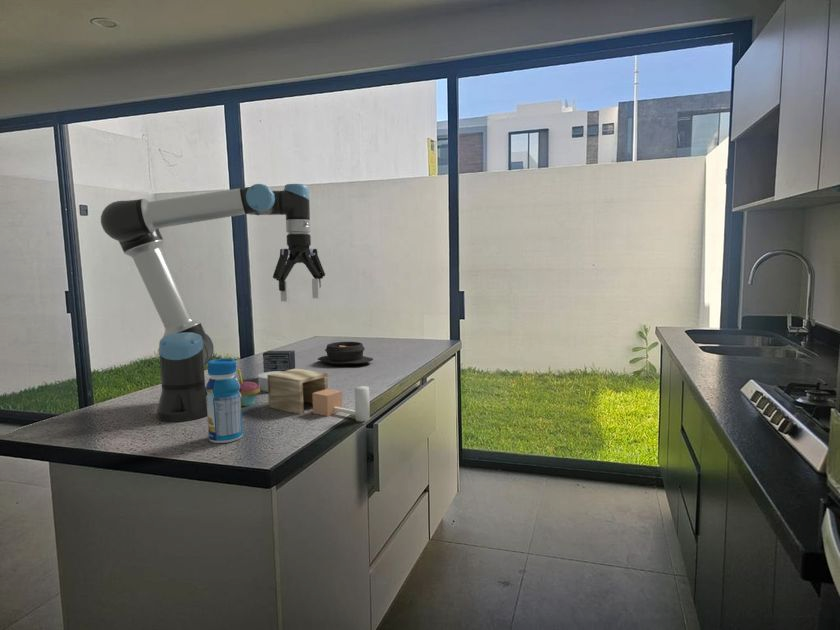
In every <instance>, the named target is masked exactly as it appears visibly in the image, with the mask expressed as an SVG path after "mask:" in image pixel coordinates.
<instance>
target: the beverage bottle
mask: <svg viewBox="0 0 840 630" xmlns="http://www.w3.org/2000/svg"><path fill="white" fill-rule="evenodd" d="M206 365H207V374H208V376H209V377H210V378H209V379H208V381H207V383H206V384H205V387H206V392H207V396H206V404H207V414H208V415H207V427H208V429H207V430H208V441H210V442H212V443H214V444H225V443H226V444H227V443H231V442H236V441H238V440H240V439H241V438H242V437H243V431H244V430H243V420H242V417H243V416H242V406H241V393H240V392H239V389H240V380H239V379H238V377H236V376H235V374H236V373H237V362H236V359H233V358H219V359H211V360H210V361H209V362H208V363H207V364H206Z"/></svg>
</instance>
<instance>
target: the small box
mask: <svg viewBox="0 0 840 630" xmlns="http://www.w3.org/2000/svg"><path fill="white" fill-rule="evenodd" d="M295 352H296V351H295V350H267V351H265V352H262V361H263V373H265V372H272V371H287V370H291V369H295V368H296V355H295Z"/></svg>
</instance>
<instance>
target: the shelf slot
mask: <svg viewBox="0 0 840 630" xmlns="http://www.w3.org/2000/svg"><path fill="white" fill-rule="evenodd" d="M267 378H268V392H267V394H268V408H272V409H276V410H279V411H280V410H281V411H284V412H289V413H292V414H293V413H294V414H299V415H303V414H305V411H304V410H305V409H304V408H305V407H304V403H309V404H313V396H312V393H315V392H318V391H321V390H325V389H329V386H328V385H329V383H328V380H329V379H328V373H327V372H321V371H316V370H309V369H303V368H296V367H295V369H291V370H287V371H283V372H278V373H274V374H270V375H267Z"/></svg>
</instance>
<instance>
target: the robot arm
mask: <svg viewBox="0 0 840 630" xmlns="http://www.w3.org/2000/svg"><path fill="white" fill-rule="evenodd" d="M310 209H311V208H310V192H309V187H308V186H307V185H306V184H304V183H287V184H285V185H284V188H283V189H282V190H273V189H272V188H270V187H269V186H267V185H266V184H262V183H255V184H253V185H251V186H246V187H241V188H233V189H226V190H219V191H218V190H217V191H213V192H206V193H200V194H194V195H193V194H191V195H186V196H180V197H173V198H166V199H158V200H153V201H152V200H151V201H149V200H147V199H146V198H140V199H139V198H138V199H130V200H129V199H128V200H117V201H114V202H111V203H109V204H108V205H107V206H105V207H104V209H103V210H102V212H101V215H100V224H101V227H102V230H103V232H104V233H105V234H107V236H109V237H110V238H111V239H114V240H115V241H118V243H119V245H120V247H121V250H122V251H123V253H124V255H127V256H129V257H131V258H132V259H133V262H134V265H135V267H136V268H137V271H138V273H139V274H140V277H141V280H142V282H143V283H144V286H145V288H146V290H147V292H148V294H149V297H150V299H151V300H152V303H153V306H154V308H155V310H156V311H157V314H158V316H159V318H160V321H161V323H162V325H163V327H164V329H165V331H164V334H163V336H162V337H161V339H160V340H159V343H158V344H159V345H158V354H159V364H160V367H159V368H160V381H161V382H160V383H161V394H160V397H159V400H158V404H157V409H156V418H157V420H160V421H163V422H184V421H191V420H196V419H201V418H203V417H206V416H207V417H208V414H207V404H206V396H207V392H206V380H205V366H206V365H207V364H208V362H209V361H212V357H213V355H214V350H215V347H214V342H213V340H212V338H211V337H210V335H208V334H207V333H206V331H205V330H204V327H203V325H202V323H201V321H199V320H196V319H194V317H193V315H192V313H191V311H190V309H189V307H188V304H187V302H186V300H185V297H184V295H183V293H182V292H181V289H180V287H179V285H178V282H177V279H176V278H175V274H174V273H173V271H172V269H171V267H170V265H169V263H168V261H167V258H166V255H165V253H164V251H163V249H162V246H163V244H164V242H165V241H164V238H163V236H162V234H161V231H160V229H162V228H168V227H173V226H181V225H187V224H193V223H199V222H204V221H205V222H206V221H211V220H217V219H223V218H229V217H236V216H242V215H250V216H251V215H252V216H253V215H254V216H266V215H267V216H274V215H275V216H276V215H278V216H281V215H282V216H284V215H285V227H286V228H285V230H286V231H285V232H286V233H287V235H286V246H287V247H288V248H281V249H280V250H279V258H278V260H277V264H276V265H275V269H274V271H273V276H272V278H273V279H275V280H276V281H278V290H279V291H280V302H286V303H287V302H289V300H290V299H289V280H287V278H288V277H289V275H290V273H291V271H292V269H293V268H294V266H295V265H296V264H301V263H302V264H304V265H305V267H306V268H307V270H308V271H309V273H310V274H311V276H312V277H313V278H312V279H311V290H312V295H311V296H312V299H321V291H320V290H321V286H322V285H321V284H322V283H321V279H324V277H326V273H325V271H324V268H323V265H322V263H321V260H320V257H319V255H318V249H317V248H310V246H311V244H312V242H311V241H312V236H311V234H309V233H310V232H311V219H310V217H311V215H310V214H311V211H310Z"/></svg>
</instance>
